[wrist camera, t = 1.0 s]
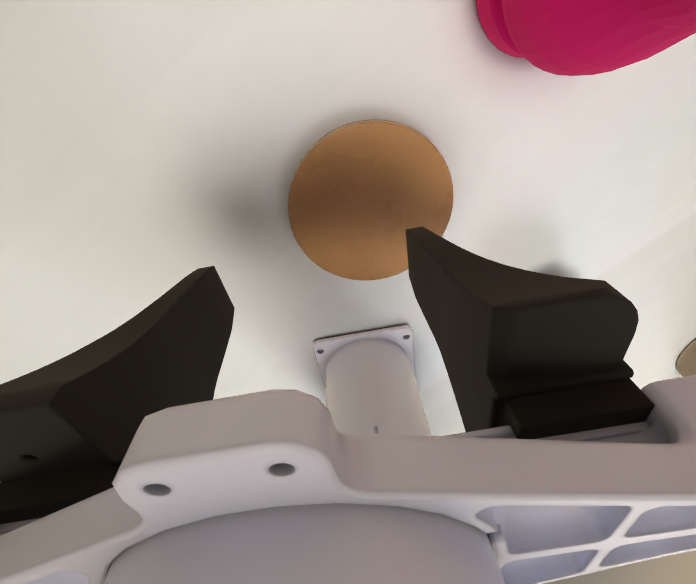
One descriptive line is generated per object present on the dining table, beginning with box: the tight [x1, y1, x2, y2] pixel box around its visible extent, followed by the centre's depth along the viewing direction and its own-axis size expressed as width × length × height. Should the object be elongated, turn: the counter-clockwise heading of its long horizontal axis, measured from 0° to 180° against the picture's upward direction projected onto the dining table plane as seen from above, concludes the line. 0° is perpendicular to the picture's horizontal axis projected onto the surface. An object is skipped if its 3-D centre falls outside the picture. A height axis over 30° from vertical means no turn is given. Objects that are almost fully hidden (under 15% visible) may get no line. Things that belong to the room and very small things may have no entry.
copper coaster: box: [288, 120, 453, 280], centre depth 21 cm, size 10×10×1 cm
